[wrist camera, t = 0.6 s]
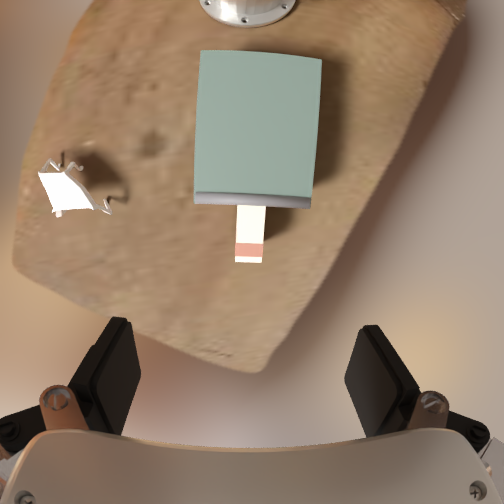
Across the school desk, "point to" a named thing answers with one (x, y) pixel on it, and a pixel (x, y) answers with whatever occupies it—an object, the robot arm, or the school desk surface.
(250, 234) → the pink-banded cream bar
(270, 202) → the block
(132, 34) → the school desk surface
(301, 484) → the robot arm
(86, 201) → the white scroll-footed stand
